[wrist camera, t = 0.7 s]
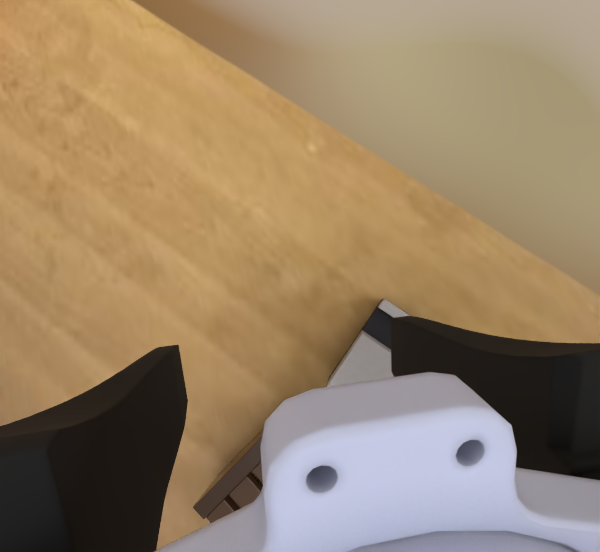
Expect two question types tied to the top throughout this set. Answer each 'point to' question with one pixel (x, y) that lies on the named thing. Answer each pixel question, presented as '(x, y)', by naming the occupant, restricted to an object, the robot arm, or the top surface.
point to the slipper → (369, 349)
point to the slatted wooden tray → (234, 484)
